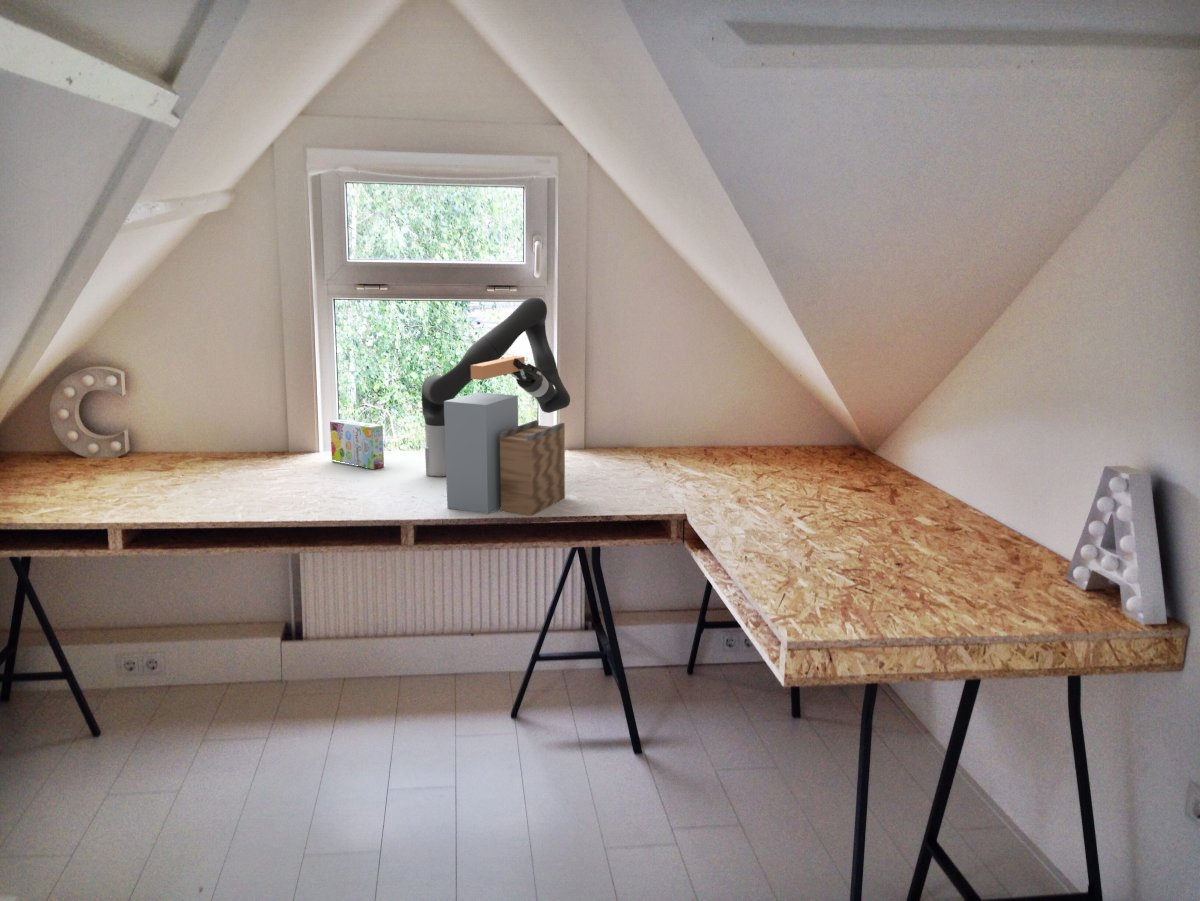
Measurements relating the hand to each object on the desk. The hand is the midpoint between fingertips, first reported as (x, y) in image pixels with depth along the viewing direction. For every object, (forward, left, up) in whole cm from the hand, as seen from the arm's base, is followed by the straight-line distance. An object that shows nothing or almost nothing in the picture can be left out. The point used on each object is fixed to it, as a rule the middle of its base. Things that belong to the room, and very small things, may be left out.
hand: (508, 360), depth 287 cm
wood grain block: (+7, -16, -41) cm, 45 cm away
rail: (-3, -5, -3) cm, 7 cm away
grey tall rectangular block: (-8, -14, -41) cm, 44 cm away
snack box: (-54, +39, -42) cm, 79 cm away
